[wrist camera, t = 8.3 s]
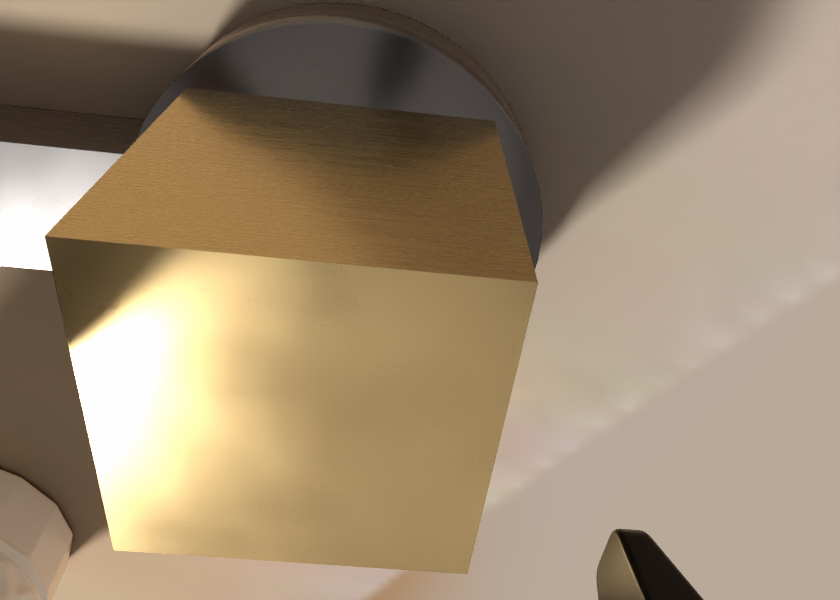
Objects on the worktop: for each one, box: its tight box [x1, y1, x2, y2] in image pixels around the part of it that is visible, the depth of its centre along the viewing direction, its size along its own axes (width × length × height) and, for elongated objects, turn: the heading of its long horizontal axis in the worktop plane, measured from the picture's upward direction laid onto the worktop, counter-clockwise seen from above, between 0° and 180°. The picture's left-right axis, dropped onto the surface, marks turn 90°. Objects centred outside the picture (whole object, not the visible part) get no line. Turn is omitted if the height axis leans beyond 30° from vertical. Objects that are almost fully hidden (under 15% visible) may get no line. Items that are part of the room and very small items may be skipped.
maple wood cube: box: [45, 88, 538, 574], centre depth 13 cm, size 6×6×6 cm
